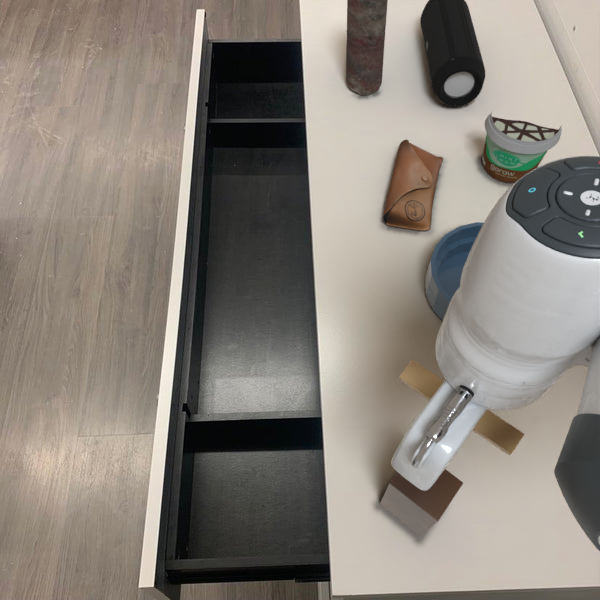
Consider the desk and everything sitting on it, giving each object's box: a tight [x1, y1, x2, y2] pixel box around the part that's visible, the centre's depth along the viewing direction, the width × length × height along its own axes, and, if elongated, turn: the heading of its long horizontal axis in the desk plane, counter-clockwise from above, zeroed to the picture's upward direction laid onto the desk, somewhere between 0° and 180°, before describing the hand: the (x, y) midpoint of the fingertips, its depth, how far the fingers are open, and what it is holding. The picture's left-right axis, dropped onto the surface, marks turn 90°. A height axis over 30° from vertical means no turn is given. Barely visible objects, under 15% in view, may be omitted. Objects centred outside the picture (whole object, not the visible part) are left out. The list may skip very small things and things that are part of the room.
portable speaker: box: [419, 0, 486, 108], centre depth 105 cm, size 26×10×10 cm, turn 179°
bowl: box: [424, 221, 484, 322], centre depth 79 cm, size 17×17×6 cm
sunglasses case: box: [382, 139, 444, 232], centre depth 92 cm, size 18×7×7 cm
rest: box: [379, 468, 464, 538], centre depth 61 cm, size 6×5×12 cm
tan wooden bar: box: [398, 359, 525, 457], centre depth 50 cm, size 12×2×1 cm, turn 49°
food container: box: [481, 110, 563, 184], centre depth 90 cm, size 12×6×10 cm, turn 70°
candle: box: [345, 0, 388, 96], centre depth 100 cm, size 8×7×20 cm
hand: (459, 409), depth 51 cm, fingers closed on tan wooden bar, 2 cm apart
